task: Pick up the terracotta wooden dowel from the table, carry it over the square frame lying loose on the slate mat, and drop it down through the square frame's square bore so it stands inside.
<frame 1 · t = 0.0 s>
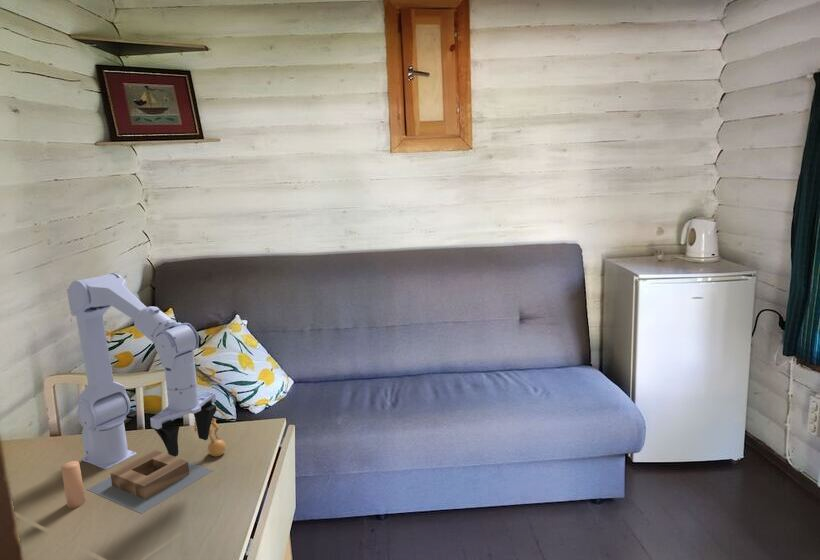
hand: (188, 446, 123), 10 cm above the table, tool pointing down, fingers open, 7 cm apart
square frame: (151, 479, 129), resting on mat
mat: (151, 481, 129), on the table
dowel: (76, 505, 121), on the table
figurine: (215, 454, 140), on the table
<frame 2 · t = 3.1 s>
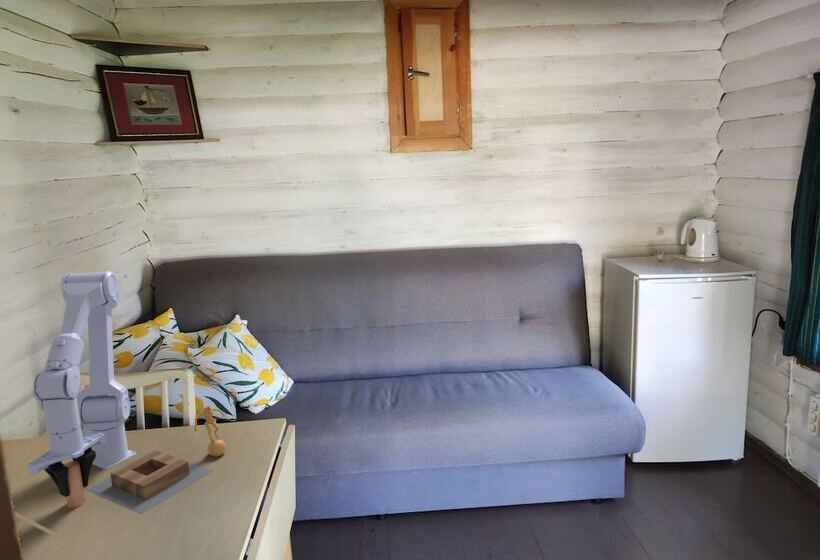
hand: (74, 490, 120), 3 cm above the table, tool pointing down, fingers closed on dowel, 3 cm apart
dowel: (76, 505, 121), on the table, touching gripper
everything else where it was.
when the fingers open (5 cm above the table, at t = 6.7 s): dowel drops 1 cm, resting on mat.
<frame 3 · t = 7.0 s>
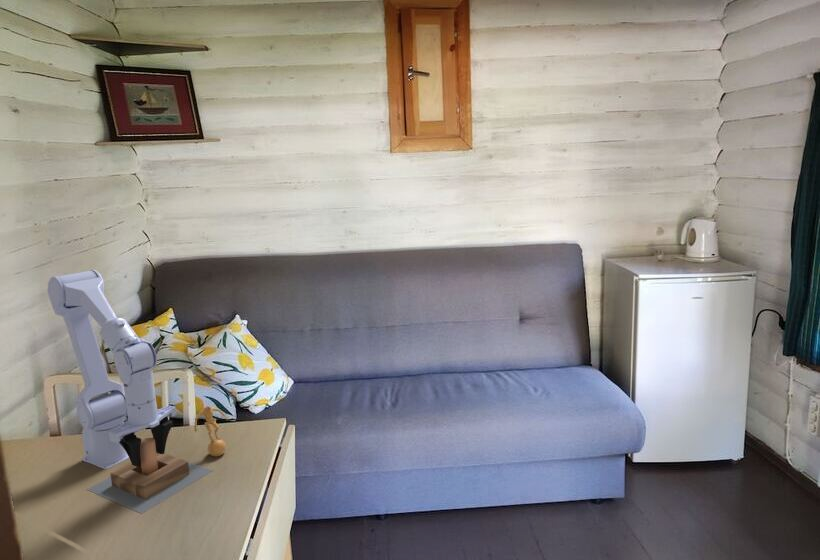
hand: (148, 459, 128), 5 cm above the table, tool pointing down, fingers open, 5 cm apart
dowel: (151, 479, 129), point 1 cm above the table, touching mat
everything else where it was.
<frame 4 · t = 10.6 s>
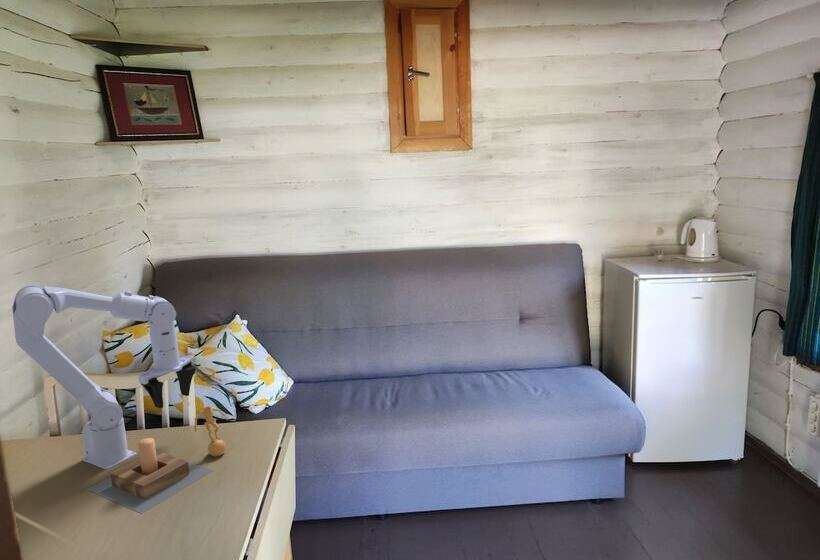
hand: (172, 401, 145), 10 cm above the table, tool pointing down, fingers open, 7 cm apart
nothing on the table moved.
at the end: dowel 0.0 cm from the square frame (horizontally); dowel point 0.5 cm above the table; the gripper is holding nothing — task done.
